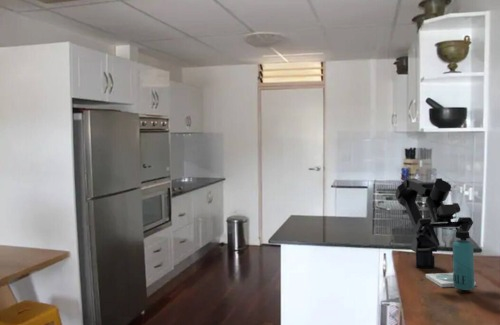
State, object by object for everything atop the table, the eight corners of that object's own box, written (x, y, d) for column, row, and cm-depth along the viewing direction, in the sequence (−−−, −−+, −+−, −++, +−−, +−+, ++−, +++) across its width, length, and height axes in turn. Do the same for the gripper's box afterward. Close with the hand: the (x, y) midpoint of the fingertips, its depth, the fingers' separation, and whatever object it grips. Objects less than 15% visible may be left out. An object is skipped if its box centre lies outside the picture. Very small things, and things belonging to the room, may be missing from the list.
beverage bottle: (474, 289, 142) (473, 229, 141) (475, 295, 136) (474, 233, 135) (452, 287, 144) (451, 228, 144) (453, 293, 138) (451, 232, 138)
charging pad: (425, 277, 157) (425, 273, 157) (457, 275, 158) (457, 272, 158) (441, 287, 145) (441, 283, 145) (475, 285, 146) (475, 281, 146)
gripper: (417, 196, 153) (431, 232, 142) (469, 194, 153) (487, 230, 142) (410, 215, 161) (422, 251, 150) (459, 213, 160) (476, 249, 150)
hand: (452, 245), depth 147 cm, fingers open, 9 cm apart
